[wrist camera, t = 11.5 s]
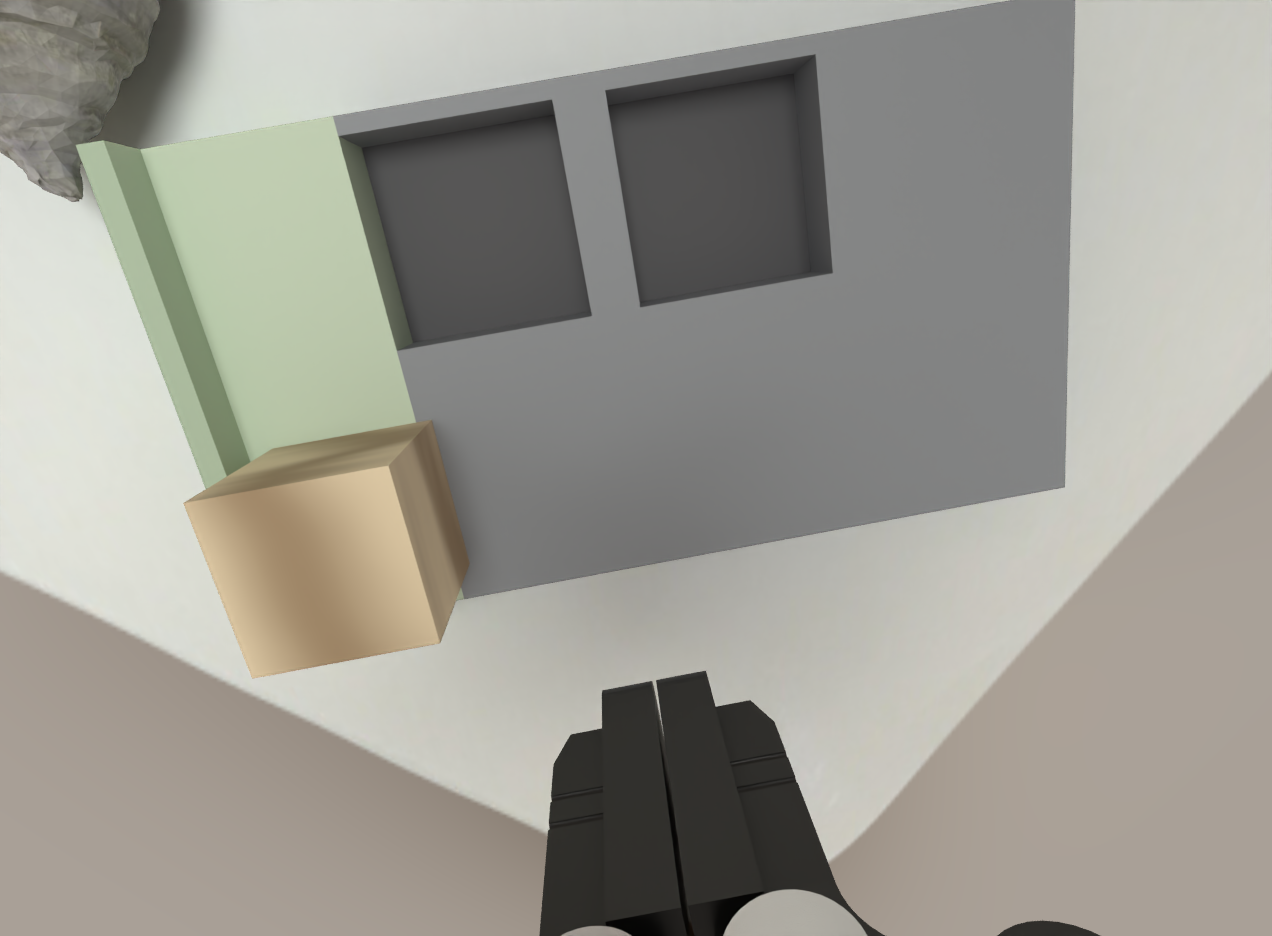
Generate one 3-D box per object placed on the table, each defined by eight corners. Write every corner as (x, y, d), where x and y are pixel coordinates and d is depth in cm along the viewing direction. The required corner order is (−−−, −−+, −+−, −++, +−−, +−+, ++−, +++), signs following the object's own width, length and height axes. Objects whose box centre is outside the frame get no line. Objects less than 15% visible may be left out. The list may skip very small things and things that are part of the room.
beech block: (431, 419, 22) (388, 465, 17) (469, 563, 23) (440, 643, 18) (272, 448, 21) (183, 503, 17) (321, 590, 23) (252, 678, 18)
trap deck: (1021, 19, 22) (1114, -33, 18) (1020, 466, 26) (1095, 501, 22) (166, 165, 21) (75, 145, 17) (316, 597, 26) (269, 656, 22)
